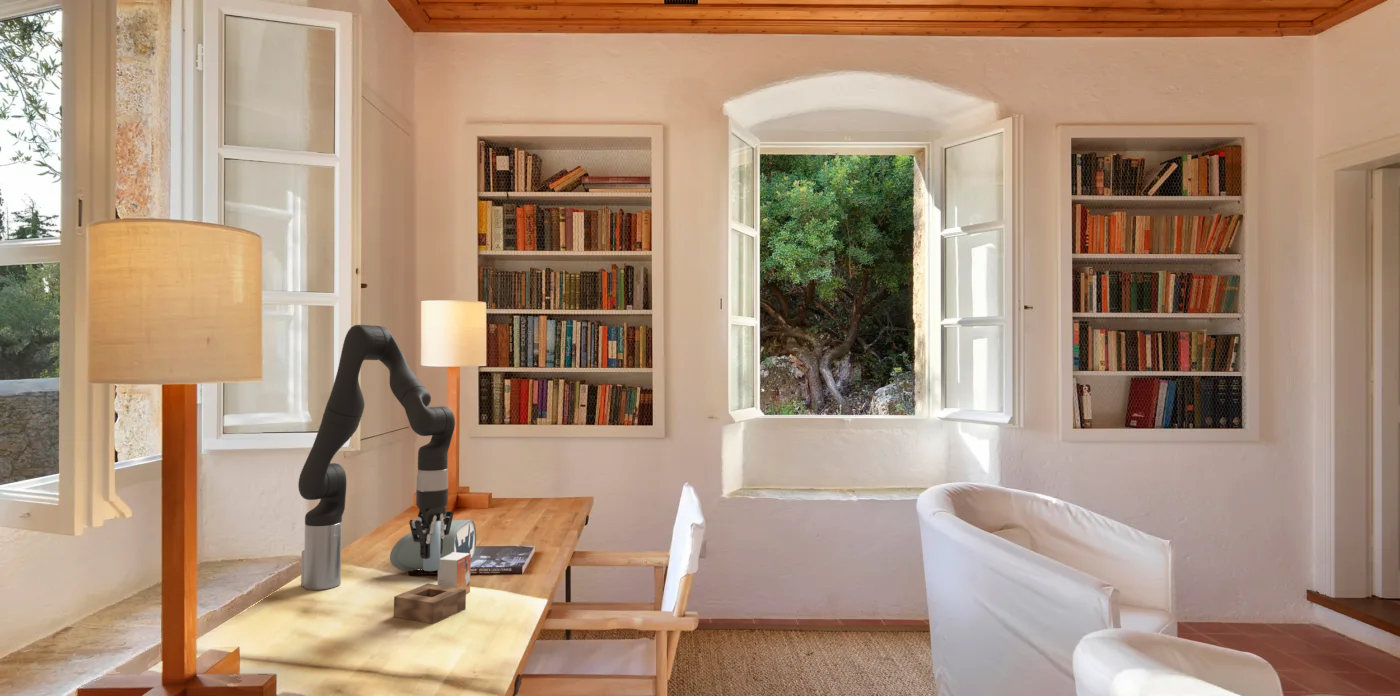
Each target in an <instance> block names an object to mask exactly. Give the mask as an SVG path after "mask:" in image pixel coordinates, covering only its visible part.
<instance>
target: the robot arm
mask: <svg viewBox="0 0 1400 696" xmlns="http://www.w3.org/2000/svg"><path fill="white" fill-rule="evenodd" d="M364 361H380V362H381V363H382V364H383V365H384V366H385V367H387V369H388V372H389V386H390V390H391V392H392V393H393V396H395V398H396V399H397V400H398V402H399V403H400V404H401V406H402V407H403V409H404V411H405V414H406V416H407V420H408V423H409V426H410V428H411V429H412V431H413V432H414V433H415V434H417V435H419V436H421V437H430V436H431V439H430V441H429V442H428V443H427V444H424V445H422V446H420V447H419V448H418V453H417V473H416V486H415V487H416V488H415V489H416V494H415V498H416V500H415V502H416V503H415V505H416V507H417V508H418V509H419V510H418V514H417V517H416V518H415V519H409V522H408V523H409V528H410V533H411V532H412V536H413V540H414V542H419V543H420V556H421V558H423V559H428V558H430V543H429V542H430V537H431V534H433V530H434V523H435V522H436V521H438V520H440V521H441V539H440V554H442V550H443V539H444V537H445V535H448V534H449V532H450V527H451V523H452V520H453V517H454V511H452V510H446V507H447V506H448V504H449V472H448V471H449V470H448V461H449V460H448V456H449V455H448V453H449V449H450V445H451V443H452V439H453V438H452V437H453V434H454V431H455V427H456V419H455V415H454V412H453V411H452V409H451V408H449V407H448V406H432V407H431V406H430V407H429V405H430V403H431V402H432V400H431V399H432V397H431V394H430V392H429V391H428V390H427V388H426V386H424V385H423V383H422V382H421V380H420V379H419V378H418V377H417V376H416V374H415V373H414V371H413V370H412V369H411V367H410V365H409V363H408V362H407V358H405V356H404V353H403V351H402V350H401V348H400V346H399V344H398V342H397V341H396V338H395V337H394V335H393V334H392V333H391V331H390V330H389V329H388V328H386V327H384V326H381V325H370V324H355V325H352V327H350V328H349V329H348V331H347V332H346V335H345V338H344V339H343V343H342V349H341V354H340V358H339V363H338V368H337V372H336V374H335V375H336V376H335V378H334V383H333V385H332V389H331V392H330V395H329V398H328V400H327V403H326V406H325V409H324V412H323V413H322V414H323V416H322V420H321V422H320V425H319V428H318V431H317V435H316V437H315V438H314V442H313V445H312V446H311V449H310V452H309V453H308V455H307V458H306V461H305V463H304V464H303V466H302V469H301V471H300V473H299V474H300V475H299V478H298V483H297V485H298V491H299V494H300V496H301V497H302V499H304V500H306V501H307V500H308V501H315V500H319V503H318V504H317V505H316V506H315V507H313V508H312V509H310V510H309V511H308V512H306V514H305V516H304V550H301V560H300V561H301V564H300V565H301V566H300V567H301V568H300V569H301V571H300V574H301V575H300V576H301V577H300V578H301V579H300V586H302V587H303V588H304V589H306V590H312V591H313V590H316V591H317V590H318V591H319V590H327V589H332V588H335V587H337V586H340V585H341V582H342V581H341V578H342V576H341V575H342V538H343V537H342V534H343V533H342V532H343V530H342V529H343V528H342V527H343V514H344V513H345V509H346V498H347V497H346V496H347V495H346V494H347V474H346V471H345V468H344V467H343V466H342V465H341V464H339V463H335V462H332V460H333V458H334V457H335V456H336V454H337V453H338V452H339V451H340V449H341V448H342V447H343V446H344V445H345V444H346V443H347V442H348V441H349V439H350V438H352V436H353V435H354V434H355V432H356V431H357V430H358V427H359V425H360V423H361V419H362V417H363V413H364V409H365V399H364V395H363V392H362V390H361V387H360V382H359V381H360V380H359V378H360V377H359V376H360V372H361V368H362V365H363V363H364ZM331 462H332V463H331ZM445 525H446V529H445ZM424 528H425V529H428V530H424ZM444 529H445V530H444ZM425 533H426V538H424V534H425ZM418 535H419V537H418Z"/></svg>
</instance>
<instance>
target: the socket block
mask: <svg viewBox="0 0 1400 696" xmlns="http://www.w3.org/2000/svg"><path fill="white" fill-rule="evenodd" d="M466 599H467V594H466V589H460V588H454V587H447V586H441V585H437V584H433V583H426V584H423V585H420V586H418V587H415V588H413V589H410V590H407V591H404V592H402V593H400V594H397V595H394V596H393V618H398V619H405V620H409V621H415V622H419V623H420V622H421V623H427V624H432V625H434V624H436V623H438V622H441V621H443V620H445V619H448V618H450V617H452V616H454V615H456V614H458V613H460V612H462V611H465V610H466V607H467V606H466V603H467V602H466V601H467V600H466ZM449 616H450V617H449Z"/></svg>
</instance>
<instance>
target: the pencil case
mask: <svg viewBox="0 0 1400 696" xmlns="http://www.w3.org/2000/svg"><path fill="white" fill-rule="evenodd" d="M445 529H446V525H445ZM445 529H444V530H445ZM418 537H419V535H418ZM476 547H477V529H476V523H475V522H474V520H472V519H459V520H458V519H456V520H453V519H452V523H451V527H450V532H449V534H448V535H445V537H444V539H443V550H442V554H440V558H443V557H445V556H447V555H449V554H451V553H452V552H457V553H470V554H471V558H472V559H473V557H474V555H475V552H476ZM389 560H390V563H391V565H392V566H393V568H397V570H401V571H405V572H414V571H413V570H415V569H420V570H421V569H422V570H423V558H421V556H420V543H419V542H414V540H413V536H412V532H411V531H410V532H409V533H407V534H405V535H404V536H402V537H400V539H399V540H398V541H397V542H396V543H395V544H394V546H393V547H392V548H391V551H390V554H389Z"/></svg>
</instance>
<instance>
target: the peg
mask: <svg viewBox="0 0 1400 696" xmlns="http://www.w3.org/2000/svg"><path fill="white" fill-rule="evenodd" d="M424 530H428V529H425V528H424ZM424 538H426V533H425V534H424ZM440 539H441V521H440V520H438V521H436V522H435V523H434V530H433V534H431V537H430V542H429V543H430V558H428V559H423V570H424V571H425V572H434V571H438V570H439V569H440Z"/></svg>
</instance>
